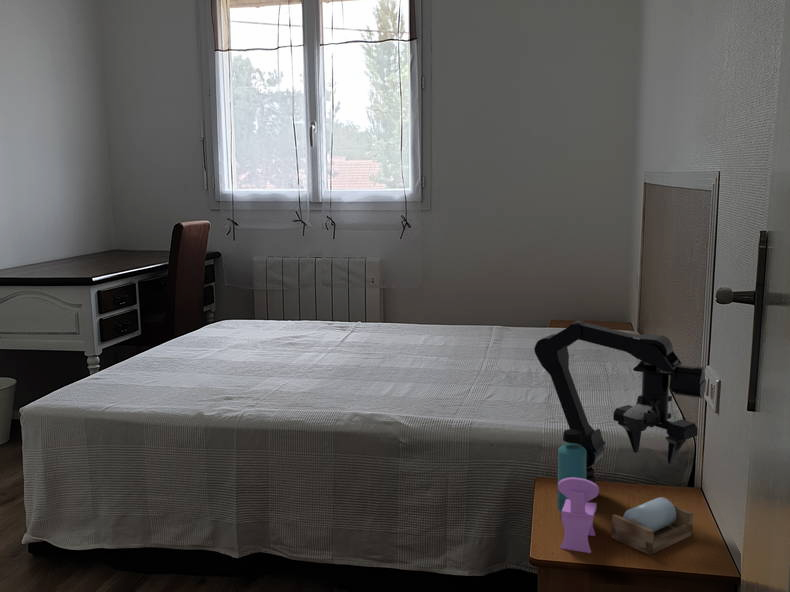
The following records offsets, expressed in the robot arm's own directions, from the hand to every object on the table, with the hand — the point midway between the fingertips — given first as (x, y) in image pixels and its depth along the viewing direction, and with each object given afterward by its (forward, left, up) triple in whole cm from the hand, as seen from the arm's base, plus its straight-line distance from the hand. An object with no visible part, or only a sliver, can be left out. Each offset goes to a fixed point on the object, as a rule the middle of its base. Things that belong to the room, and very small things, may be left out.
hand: (652, 457), depth 173 cm
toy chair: (+1, -26, -12) cm, 29 cm away
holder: (+9, -12, -12) cm, 19 cm away
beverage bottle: (-8, -18, -12) cm, 23 cm away
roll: (+9, -12, -11) cm, 18 cm away
